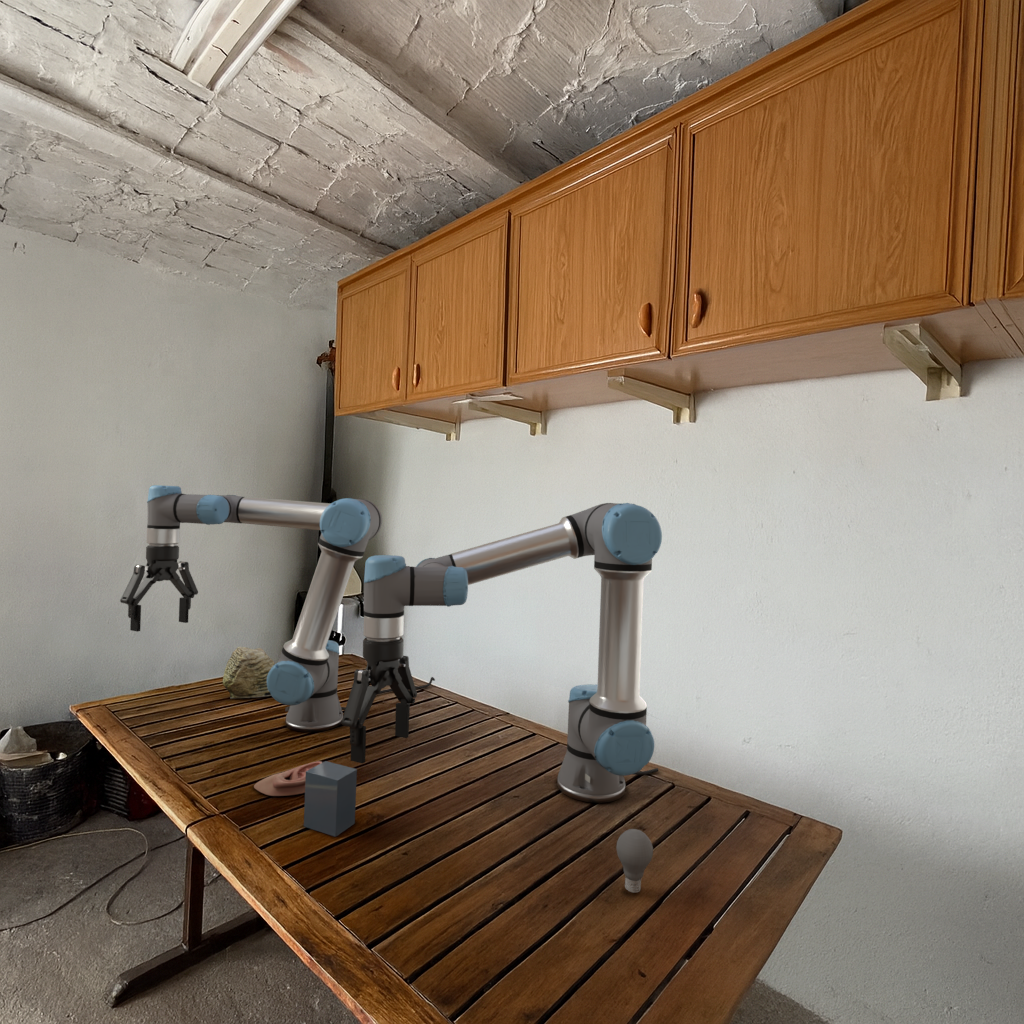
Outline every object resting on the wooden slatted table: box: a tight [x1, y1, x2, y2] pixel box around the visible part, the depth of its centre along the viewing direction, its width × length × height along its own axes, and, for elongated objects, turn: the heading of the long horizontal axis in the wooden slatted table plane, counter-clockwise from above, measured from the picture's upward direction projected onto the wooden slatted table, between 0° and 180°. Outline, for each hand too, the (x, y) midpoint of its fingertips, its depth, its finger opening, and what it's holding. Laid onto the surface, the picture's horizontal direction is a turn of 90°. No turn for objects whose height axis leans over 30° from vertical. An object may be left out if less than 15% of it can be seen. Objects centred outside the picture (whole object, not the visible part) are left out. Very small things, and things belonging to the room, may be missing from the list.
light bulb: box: [615, 828, 654, 894], centre depth 106 cm, size 6×6×10 cm
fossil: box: [222, 646, 276, 699], centre depth 198 cm, size 9×18×15 cm, turn 132°
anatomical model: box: [253, 760, 323, 797], centre depth 138 cm, size 13×4×12 cm
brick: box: [303, 760, 358, 838], centre depth 122 cm, size 6×8×11 cm
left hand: (160, 626), depth 165 cm, fingers open, 13 cm apart
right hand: (381, 748), depth 120 cm, fingers open, 13 cm apart
